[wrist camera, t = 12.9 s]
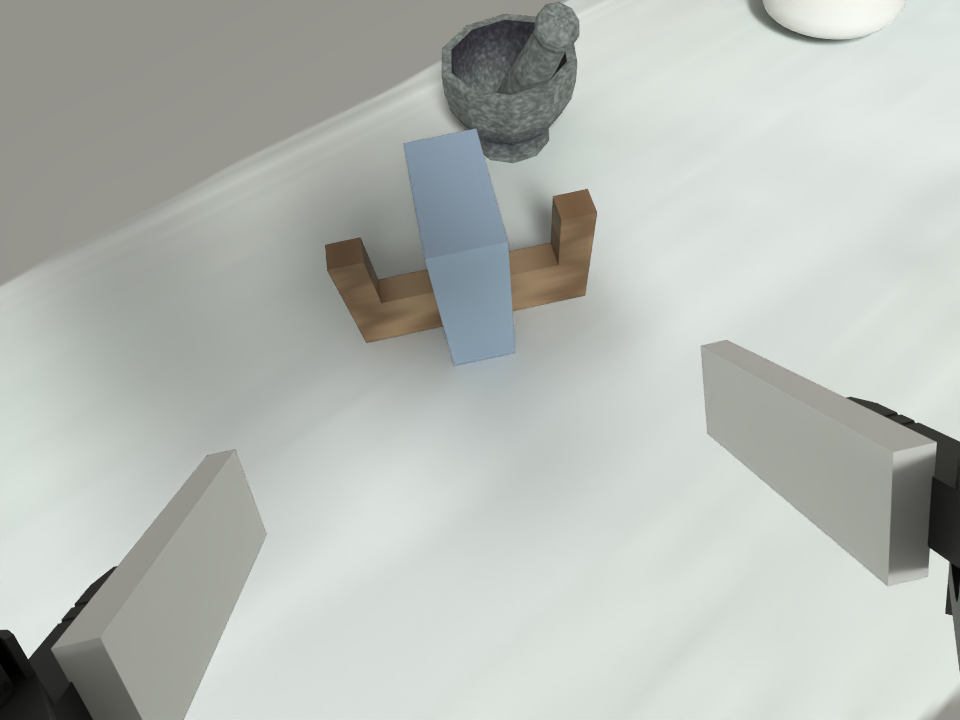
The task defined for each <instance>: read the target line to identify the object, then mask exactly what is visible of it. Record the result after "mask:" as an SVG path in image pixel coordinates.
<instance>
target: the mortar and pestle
mask: <svg viewBox="0 0 960 720" xmlns="http://www.w3.org/2000/svg"><path fill="white" fill-rule="evenodd" d="M578 37H579V19H578V18H577V16H576V15H575V13H574V11H573V10H572V8H570V7H568V6H566V5H564V4H562V3H560V2H557V3H551V4H546V5H545V6H544V7H543V8H542V10H541V11H540V12H539V13H538V14H537V16H536V17H534V16H522V15H511V14H503V15H499V16H496V17H493V18H490V19H486V20H483V21H480V22H476V23H473V24H470V25H466V26H465V27H464V28H463V29H462V30H461V31H460V32H459V33H458V34H457V35H456V36H455V37H454V38H453V39H452V40H451V41H449V42H448V43H447V44H446V45H445V46H444V47H443V48H442V80H443V86H444V93H445V96H446V98H447V101H448V104H449V107H450V110H451V111H452V112H453V113H454V115H455V116H456V117H457V118H458V119H459V120H460V121H461V123H463V124H464V125H465V126H466V127H467V128H468V129H470V130H471V129H476V130H477V133H478V137H479V140H480V144H481V147H482V151H483V154H484V155H485V156H486V157H487V158H489V159H490V160H495V161H502V162H509V163H515V162H518V161H522V160H525V159H528V158H531V157H534V156H536V155H537V154H538V153H539V152H540V151H541V150H542V148H543V147H544V146H545V145H546V144H547V142H548V141H549V130H548V128H549V127H550V126H551V125H552V124H553V122H554V121H555V120H556V119H557V118H558V117H559V115H560V114H561V113H562V111H563V110H564V109H565V107H566V106H567V104H568V103H569V101H570V100H571V98H572V94H573V90H574V86H575V82H576V73H577V58H576V53H575V47H574V43H575V41H576V40H577V38H578Z"/></svg>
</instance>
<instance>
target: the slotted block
mask: <svg viewBox="0 0 960 720" xmlns="http://www.w3.org/2000/svg"><path fill="white" fill-rule="evenodd" d="M403 145H404V150H405V155H406V161H407V166H408V172H409V177H410V182H411V188H412V193H413V199H414V204H415V209H416V215H417V220H418V226H419V231H420V237H421V242H422V247H423V253H424V258H425V262H426V266H427V269H428V273H429V276H430V280H431V284H432V287H433V291H434V294H435V298H436V302H437V305H438V309H439V312H440V316H441V320H442V323H443V327H444V330H445V334H446V338H447V341H448V345H449V348H450V352H451V355H452V359H453V363H454V366H455V365H460V364H464V363H469V362H474V361H479V360H483V359H488V358H493V357H497V356H502V355H507V354H511V353H515V345H514V329H513V313H512V296H511V280H510V264H509V248H508V240H507V236H506V232H505V229H504V225H503V222H502V218H501V215H500V211H499V208H498V204H497V201H496V197H495V193H494V190H493V186H492V183H491V179H490V176H489V172H488V169H487V165H486V161H485V158H484V154H483V151H482V147H481V144H480V140H479V137H478V133H477V130H476V129H471V130H466V131H462V132H457V133H452V134H447V135H442V136H437V137H433V138H428V139H423V140H418V141H413V142H408V143H403Z"/></svg>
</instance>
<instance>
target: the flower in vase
mask: <svg viewBox="0 0 960 720" xmlns="http://www.w3.org/2000/svg"><path fill="white" fill-rule="evenodd" d="M905 1H906V0H762V2H763V5H764V7H765V10H766V11H767V13H768V14H769V15H770V16H771V17H772V18H773V19H774V20H775V21H776V22H778V23H779V24H781V25H782V26H784V27H786V28H788V29H790V30H792V31H795V32H797V33H800V34H803V35H807V36H811V37H815V38H822V39H853V38H859V37H863V36H867V35H870V34H872V33H875V32H877V31H879V30H881V29H883V28H884V27H886V26H887V25H889V24H890V23H892V22H893V21H894V20H896V19H897V18H898V17H899V16H900V14H901V13H902V11H903V9H904V7H905Z"/></svg>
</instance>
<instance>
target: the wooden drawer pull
mask: <svg viewBox="0 0 960 720" xmlns="http://www.w3.org/2000/svg"><path fill="white" fill-rule="evenodd" d="M596 217H597V211H596V208H595V206H594V203H593V201H592V198H591V196H590V194H589V191H588V189H585V190H580V191H576V192H571V193H566V194H561V195H557V196H553V206H552V229H551V243H547V244H543V245H538V246H533V247H529V248H524V249H519V250H515V251H510V252H509V264H510V280H511V296H512V311H515V310H520V309H525V308H529V307H534V306H538V305H543V304H548V303H552V302H557V301H562V300H566V299H571V298H575V297H580V296H585V292H586V285H587V278H588V272H589V265H590V258H591V251H592V244H593V237H594V231H595V224H596ZM325 249H326V261H327V271H328V273H329V274H330V276H331V278H332V280H333V282H334V284H335V285H336V287H337V289H338V291H339V293H340V295H341V296H342V298H343V300H344V302H345V304H346V306H347V308H348V309H349V311H350V313H351V315H352V317H353V319H354V320H355V322H356V324H357V326H358V328H359V330H360V331H361V333H362V335H363V337H364V339H365V341H366V343H368V342H373V341H377V340H382V339H386V338H391V337H396V336H400V335H405V334H409V333H414V332H419V331H423V330H428V329H432V328H437V327H442V326H443V323H442V320H441V316H440V312H439V309H438V305H437V302H436V298H435V294H434V291H433V287H432V284H431V280H430V276H429V273H428V269H426V270H422V271H417V272H412V273H408V274H403V275H398V276H394V277H389V278H384V279H380V280H378V278H377V276H376V273H375V271H374V269H373V266H372V264H371V261H370V259H369V257H368V254H367V252H366V250H365V247H364V245H363V242H362V240H361V238H355V239H351V240H346V241H341V242H337V243H332V244H327V245H325Z"/></svg>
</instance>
